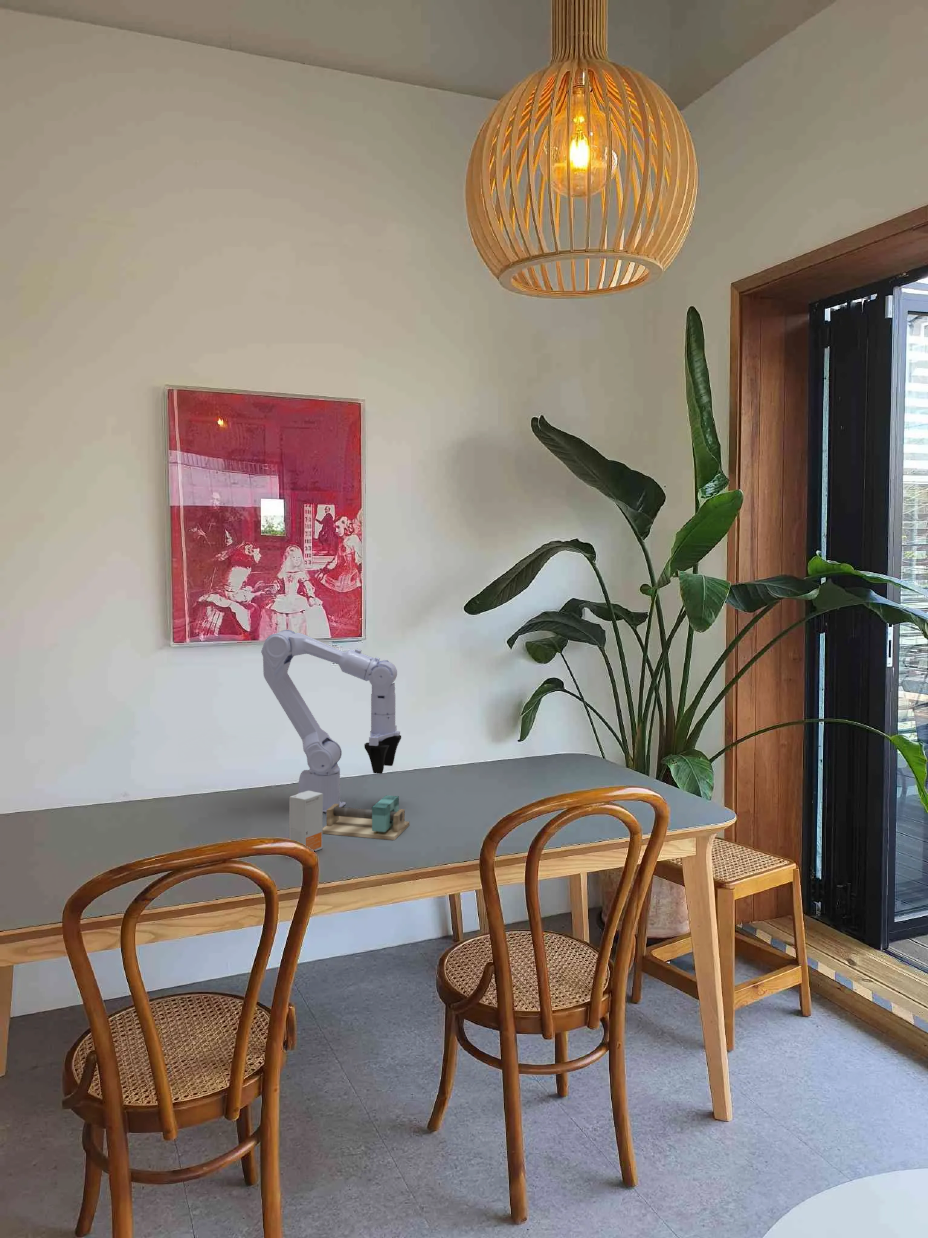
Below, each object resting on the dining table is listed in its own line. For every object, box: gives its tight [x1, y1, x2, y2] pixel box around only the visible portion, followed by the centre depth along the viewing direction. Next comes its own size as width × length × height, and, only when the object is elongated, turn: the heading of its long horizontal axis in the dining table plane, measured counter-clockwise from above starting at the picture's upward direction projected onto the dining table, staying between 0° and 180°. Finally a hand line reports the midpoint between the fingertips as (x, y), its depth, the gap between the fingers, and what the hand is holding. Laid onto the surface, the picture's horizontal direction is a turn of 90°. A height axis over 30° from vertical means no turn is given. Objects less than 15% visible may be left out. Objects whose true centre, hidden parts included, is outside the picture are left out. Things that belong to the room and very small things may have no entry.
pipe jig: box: [322, 804, 410, 841], centre depth 217 cm, size 17×11×5 cm, turn 76°
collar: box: [371, 794, 400, 832], centre depth 216 cm, size 3×10×5 cm, turn 166°
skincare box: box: [288, 791, 324, 852], centre depth 202 cm, size 6×4×12 cm
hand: (383, 769), depth 231 cm, fingers open, 7 cm apart
